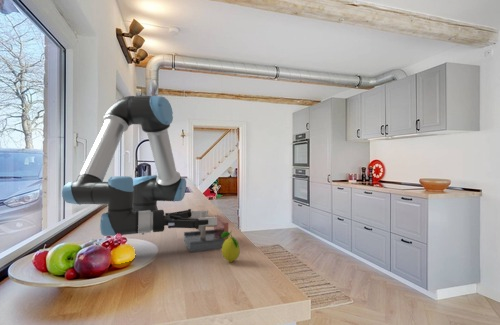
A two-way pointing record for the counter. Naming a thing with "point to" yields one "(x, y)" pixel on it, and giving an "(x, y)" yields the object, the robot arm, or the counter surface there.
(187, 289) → the counter surface
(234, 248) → the lemon
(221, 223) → the grey shallow tray
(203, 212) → the pipe connector
